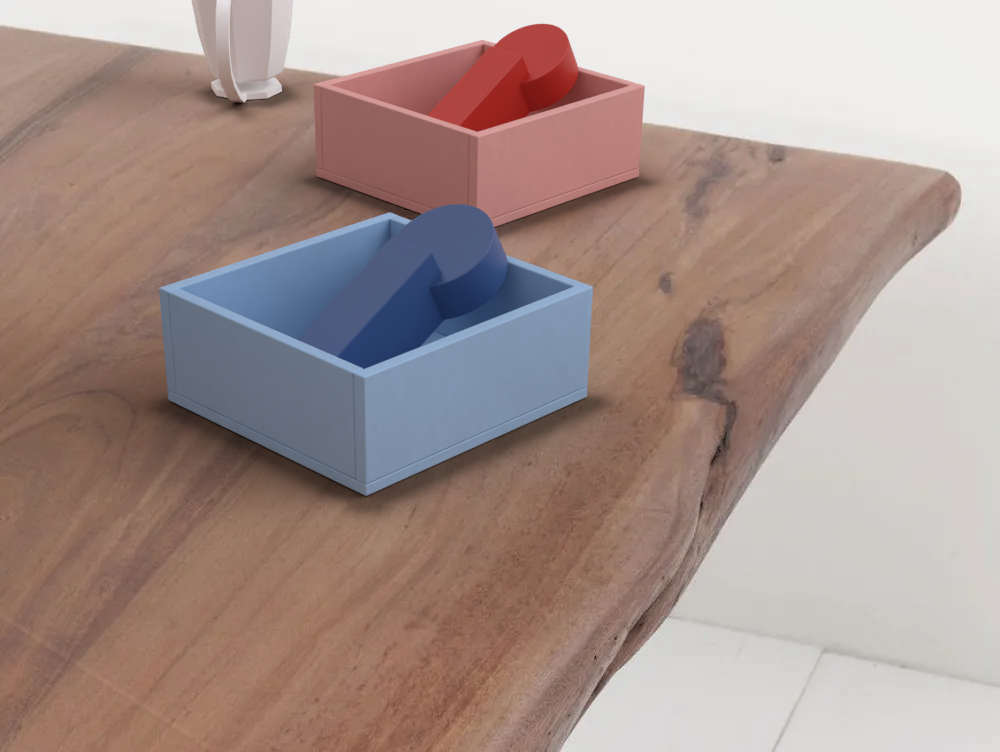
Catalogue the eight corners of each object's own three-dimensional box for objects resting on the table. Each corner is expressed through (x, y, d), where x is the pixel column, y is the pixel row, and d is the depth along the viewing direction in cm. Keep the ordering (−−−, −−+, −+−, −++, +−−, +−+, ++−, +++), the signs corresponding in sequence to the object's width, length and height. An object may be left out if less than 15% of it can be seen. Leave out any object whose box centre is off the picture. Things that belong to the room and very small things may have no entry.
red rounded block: (422, 165, 104) (402, 120, 102) (531, 44, 107) (514, -3, 104) (485, 186, 102) (465, 140, 99) (595, 62, 104) (579, 14, 101)
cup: (311, 76, 119) (307, -60, 115) (285, 124, 111) (279, -20, 106) (201, 70, 120) (192, -65, 115) (168, 118, 111) (157, -26, 107)
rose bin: (315, 176, 104) (313, 83, 101) (480, 126, 112) (482, 39, 109) (475, 234, 97) (477, 136, 94) (639, 176, 105) (645, 85, 102)
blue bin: (167, 400, 80) (158, 287, 77) (390, 316, 88) (389, 211, 85) (365, 496, 73) (363, 377, 71) (587, 397, 81) (593, 286, 79)
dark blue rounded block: (305, 385, 80) (274, 333, 78) (450, 226, 83) (425, 170, 80) (382, 421, 78) (353, 368, 75) (530, 255, 80) (507, 198, 78)
